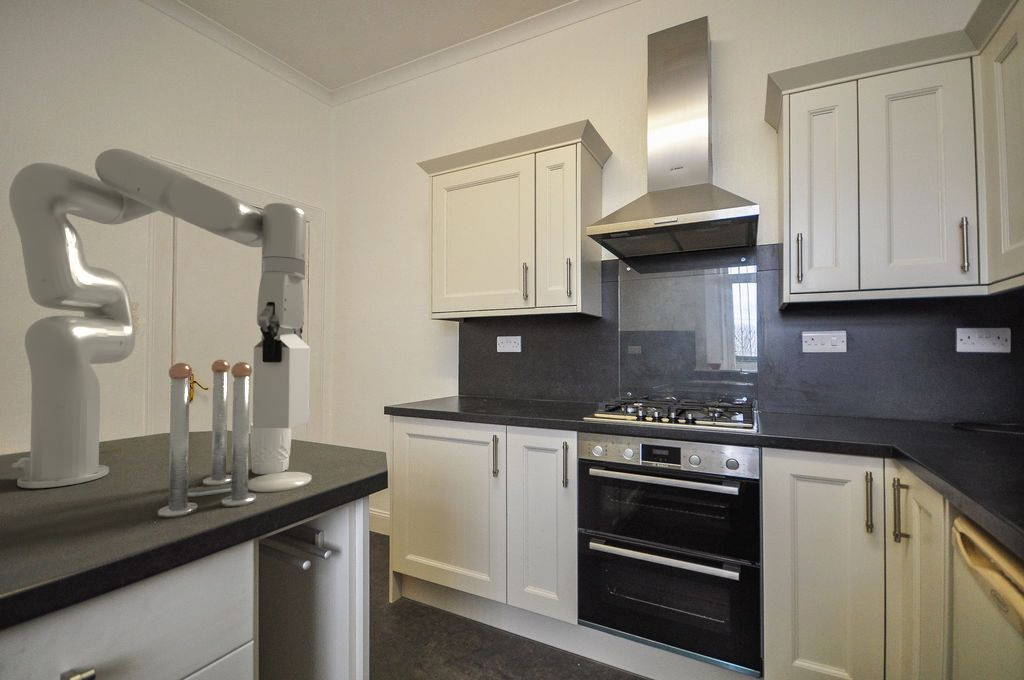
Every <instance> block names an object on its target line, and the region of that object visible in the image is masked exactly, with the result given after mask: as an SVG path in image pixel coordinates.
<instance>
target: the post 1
mask: <svg viewBox="0 0 1024 680" xmlns="http://www.w3.org/2000/svg"><path fill="white" fill-rule="evenodd" d="M192 375H193V368H192V367H191V366H190V365H189V364H188V363H185V362H177V363H174V364H172V365H171V366H170V368H169V369H168V376H169V377H170V410H169V411H170V412H169V413H170V419H169V420H170V421H169V423H170V424H169V425H170V426H169V469H168V472H169V474H168V477H169V478H168V505H167V506H164V507H161V508H159V509H158V510H157V516H158V517H159V518H163V519H171V518H178V517H184V516H187V515H190V514H193V513H194V512H196V511H197V510H198V504H197V503H196V502H188V500H189V496H188V493H189V492H188V491H189V490H188V489H189V446H190V445H189V444H190V443H189V441H190V438H189V437H190V394H191V393H190V392H191V390H190V385H191V377H192Z"/></svg>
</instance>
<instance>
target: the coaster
mask: <svg viewBox="0 0 1024 680" xmlns="http://www.w3.org/2000/svg"><path fill="white" fill-rule="evenodd" d="M312 477H313V476H312V474H310V473H307V472H304V471H303V472H302V471H283V472H279V473H273V474H262V475H260V476H259V475H258V476H257V477H254V478H251V479H250V480H248V491H251V492H254V493H255V492H256V493H257V492H258V493H276V492H284V491H285V492H286V491H290V490H294V489H295V490H296V489H298V488H302V487H304V486H306V485H308V484H310V483H311V482H312V479H313V478H312Z"/></svg>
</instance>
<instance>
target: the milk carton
mask: <svg viewBox="0 0 1024 680" xmlns="http://www.w3.org/2000/svg"><path fill="white" fill-rule="evenodd" d="M274 331H276V330H274ZM278 341H282V361H281V362H278V363H276V362H263V361H262V354H263V340H262V339H261V340H260V342H258V343H257V344H256V345H254V347H253V369H252V373H253V374H252V375H253V378H252V381H253V382H252V383H253V386H252V423H253V428H292V429H293V428H295V427H298V426H301V425H305V424H308V423H309V422H310V391H311V390H310V389H311V387H310V382H311V381H310V380H311V347H310V346H309V344H307V343H306V342H305V341H304V340H303V339H302V340H301V339H300V338H299V337H298V336H297V335H296V334H295V333H294V330H293V329H290V328H283V329H282V333H281V336H280V339H279V340H278Z"/></svg>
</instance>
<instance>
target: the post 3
mask: <svg viewBox="0 0 1024 680" xmlns="http://www.w3.org/2000/svg"><path fill="white" fill-rule="evenodd" d="M230 372H231V376H232V416H231V417H232V420H231V421H232V423H231V425H232V426H231V427H232V428H231V430H232V431H231V432H232V433H231V474H230V475H231V482H230V486H231V487H230V488H231V492H230V495H229V496H226V497H224V498H223V499H222V500H221V506H222V507H224V508H236V507H242V506H243V507H244V506H247V505H250V504H253V503H255V502H256V501H257V494H255V493H251V492H250V493H249V489H248V482H249V443H250V442H249V439H250V437H249V436H250V390H251V389H250V384H251V383H250V382H251V381H250V380H251V378H250V377H251V375H252V373H253V369H252V366H251V365H250V364H249V363H247V362H245V361H239V362H236V363H235V364H234V365H232V367H231V371H230Z"/></svg>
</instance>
